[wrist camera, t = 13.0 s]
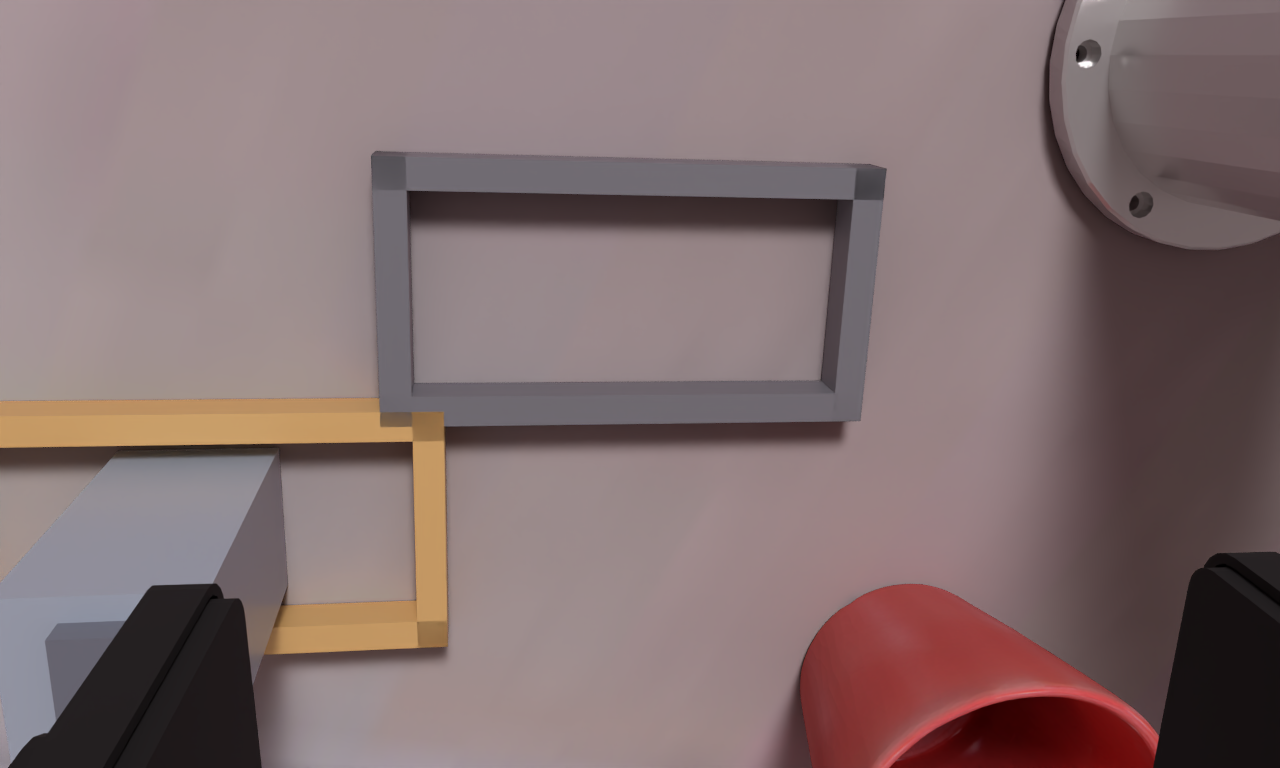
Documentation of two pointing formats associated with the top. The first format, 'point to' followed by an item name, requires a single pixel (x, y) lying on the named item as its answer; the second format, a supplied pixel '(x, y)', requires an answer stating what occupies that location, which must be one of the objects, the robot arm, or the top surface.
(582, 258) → the top surface
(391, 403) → the tan grey double frame
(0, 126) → the top surface
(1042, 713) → the flower pot
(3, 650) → the plug
